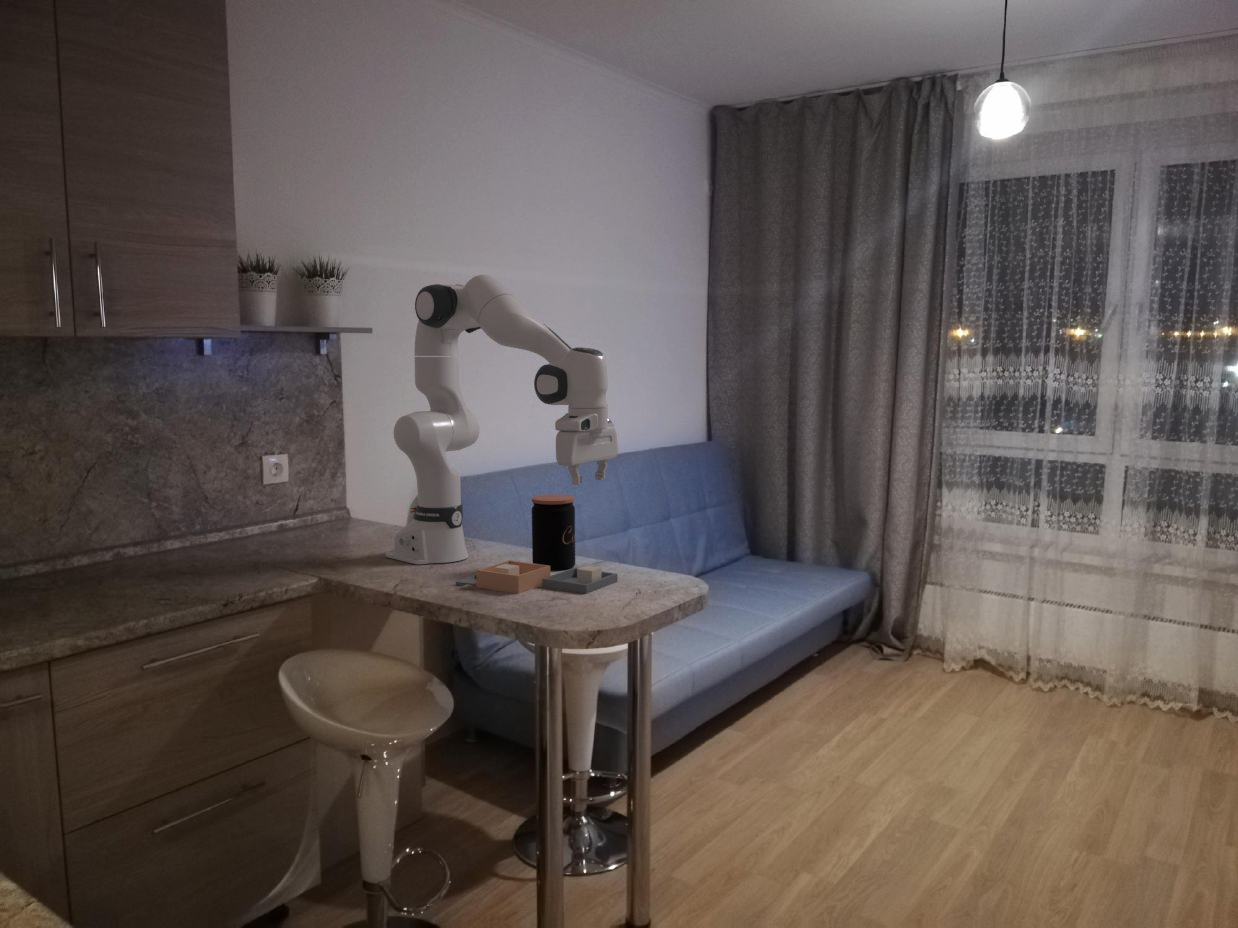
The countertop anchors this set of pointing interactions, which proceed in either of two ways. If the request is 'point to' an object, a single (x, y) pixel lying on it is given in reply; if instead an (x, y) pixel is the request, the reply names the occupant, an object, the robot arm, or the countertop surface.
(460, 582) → the tray lid
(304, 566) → the countertop surface
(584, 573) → the stone
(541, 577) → the terracotta bin
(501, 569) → the cream cube
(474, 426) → the robot arm
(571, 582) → the tray
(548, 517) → the coffee jar
